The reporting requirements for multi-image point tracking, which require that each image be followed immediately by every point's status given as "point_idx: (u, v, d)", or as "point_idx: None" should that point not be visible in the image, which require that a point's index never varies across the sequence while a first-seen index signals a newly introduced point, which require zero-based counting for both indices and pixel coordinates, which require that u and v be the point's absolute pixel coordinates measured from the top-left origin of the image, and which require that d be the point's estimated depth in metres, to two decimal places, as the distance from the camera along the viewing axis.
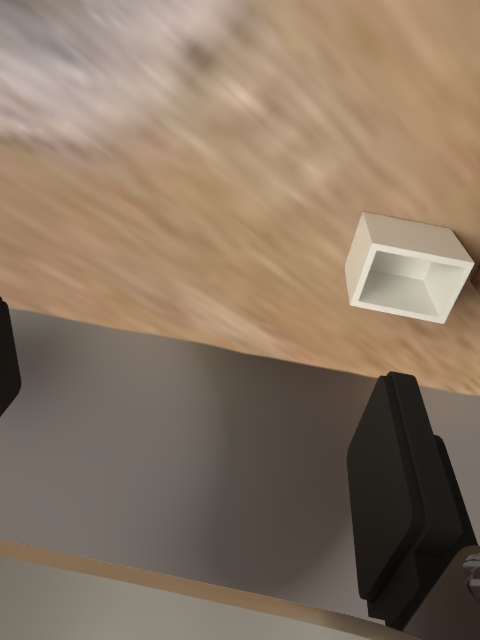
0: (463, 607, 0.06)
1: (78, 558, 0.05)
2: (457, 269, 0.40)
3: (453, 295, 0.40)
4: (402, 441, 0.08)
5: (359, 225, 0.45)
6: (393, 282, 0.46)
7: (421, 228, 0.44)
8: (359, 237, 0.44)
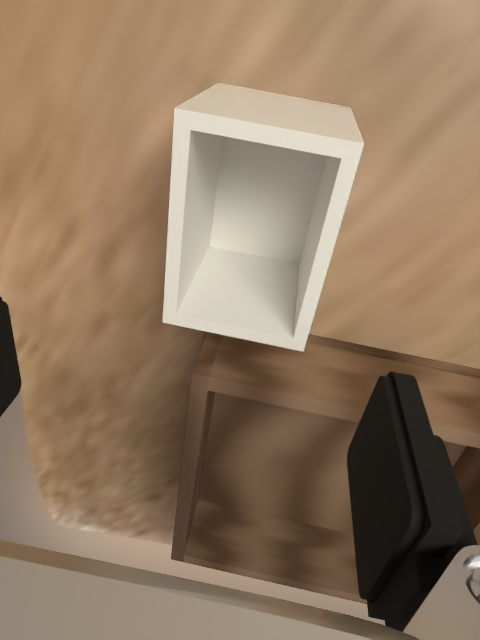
0: (463, 607, 0.06)
1: (78, 558, 0.05)
2: (278, 320, 0.21)
3: (230, 330, 0.20)
4: (402, 441, 0.08)
5: (324, 104, 0.21)
6: (209, 197, 0.22)
7: None
8: (312, 108, 0.19)
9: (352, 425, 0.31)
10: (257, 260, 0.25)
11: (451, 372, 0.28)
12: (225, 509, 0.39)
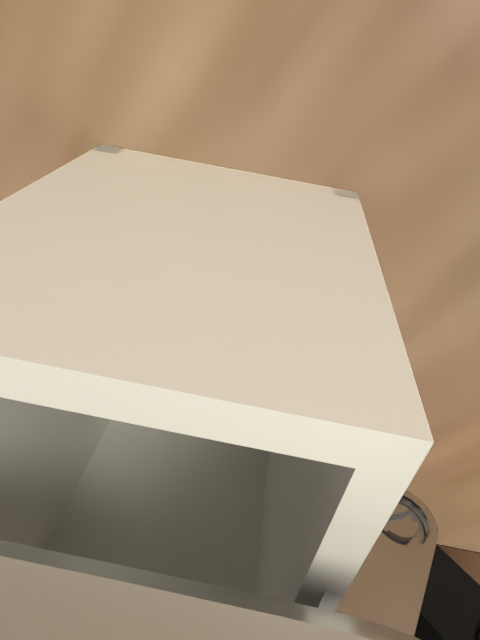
0: (377, 545, 0.07)
1: (78, 558, 0.05)
2: None
3: None
4: None
5: (306, 191, 0.10)
6: None
7: None
8: (279, 213, 0.09)
9: None
10: None
11: None
12: None
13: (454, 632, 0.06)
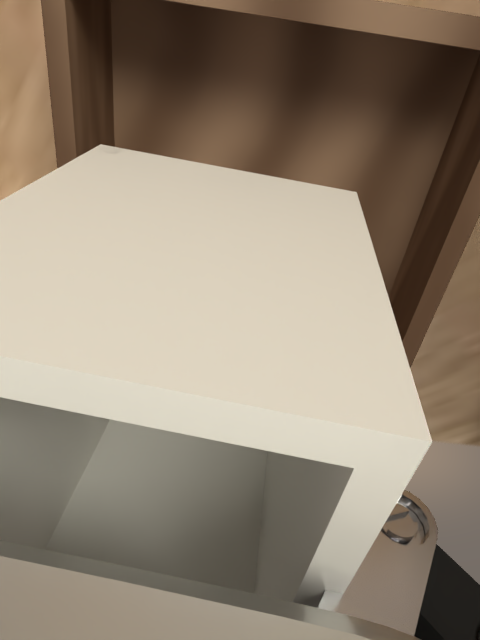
0: (376, 545, 0.07)
1: (78, 558, 0.05)
2: None
3: None
4: None
5: (305, 191, 0.10)
6: None
7: None
8: (278, 213, 0.09)
9: (293, 138, 0.24)
10: None
11: None
12: None
13: (454, 632, 0.06)
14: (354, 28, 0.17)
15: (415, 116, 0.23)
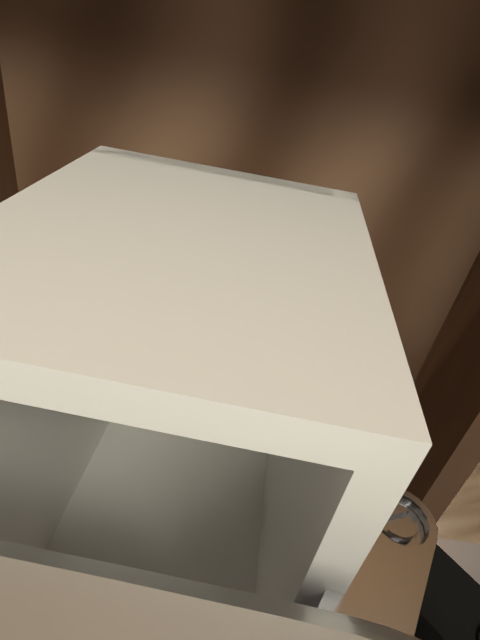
0: (376, 545, 0.07)
1: (78, 558, 0.05)
2: None
3: None
4: None
5: (306, 192, 0.10)
6: None
7: None
8: (278, 215, 0.09)
9: (282, 150, 0.16)
10: None
11: None
12: None
13: (454, 632, 0.06)
14: None
15: (478, 119, 0.14)
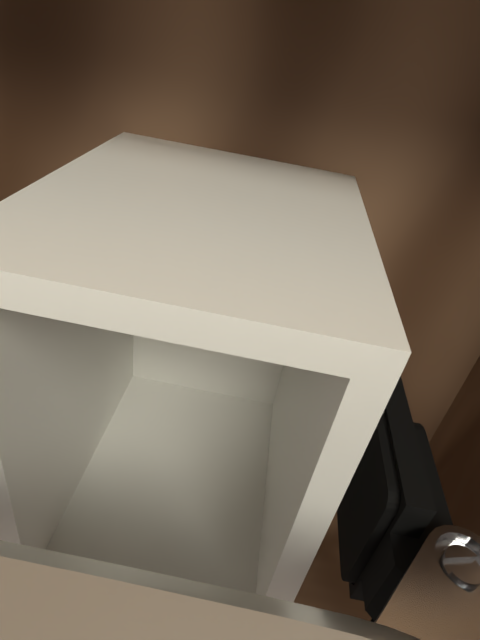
0: (437, 586, 0.06)
1: (78, 558, 0.05)
2: (228, 572, 0.11)
3: None
4: (382, 427, 0.09)
5: (309, 174, 0.12)
6: None
7: None
8: (285, 191, 0.10)
9: None
10: (205, 403, 0.16)
11: None
12: None
13: None
14: None
15: None
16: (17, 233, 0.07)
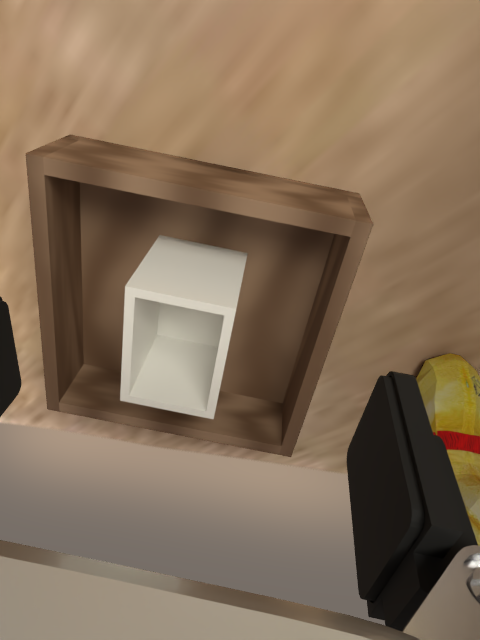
0: (463, 607, 0.06)
1: (78, 558, 0.05)
2: (198, 397, 0.31)
3: (165, 405, 0.30)
4: (402, 441, 0.08)
5: (229, 253, 0.32)
6: (154, 309, 0.33)
7: None
8: (218, 262, 0.30)
9: None
10: (190, 346, 0.36)
11: (294, 184, 0.29)
12: (110, 372, 0.39)
13: None
14: (241, 213, 0.26)
15: (301, 246, 0.32)
16: (144, 280, 0.26)
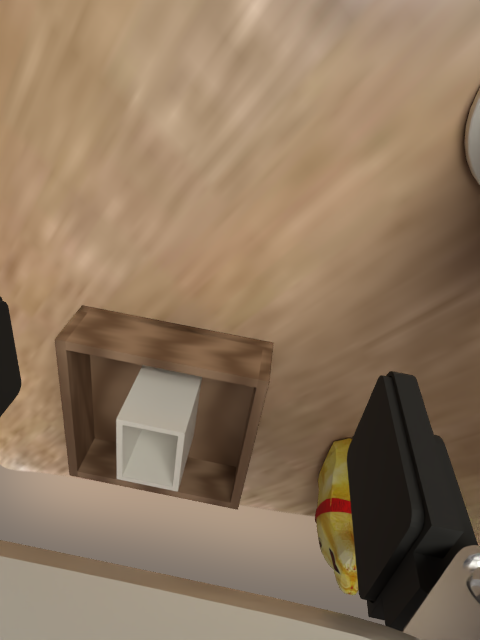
0: (463, 607, 0.06)
1: (78, 558, 0.05)
2: (168, 476, 0.47)
3: (145, 482, 0.46)
4: (402, 441, 0.08)
5: (188, 378, 0.47)
6: None
7: (193, 425, 0.49)
8: (179, 389, 0.46)
9: None
10: None
11: (228, 339, 0.45)
12: (113, 444, 0.55)
13: None
14: (187, 373, 0.41)
15: None
16: (128, 412, 0.42)
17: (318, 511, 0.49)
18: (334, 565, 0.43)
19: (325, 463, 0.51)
